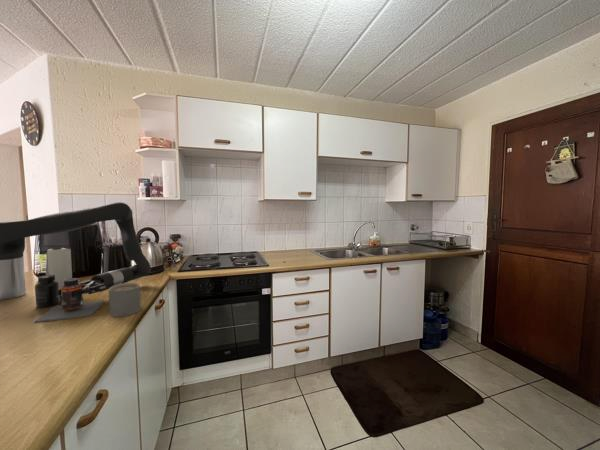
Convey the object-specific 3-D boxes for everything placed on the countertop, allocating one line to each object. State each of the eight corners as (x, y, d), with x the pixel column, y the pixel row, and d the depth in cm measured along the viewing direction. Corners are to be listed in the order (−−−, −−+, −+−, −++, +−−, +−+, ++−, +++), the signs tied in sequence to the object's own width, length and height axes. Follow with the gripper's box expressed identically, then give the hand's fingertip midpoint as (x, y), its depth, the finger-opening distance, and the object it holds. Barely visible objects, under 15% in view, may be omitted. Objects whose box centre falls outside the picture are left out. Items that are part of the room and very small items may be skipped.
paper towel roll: (47, 295, 110) (44, 249, 108) (64, 291, 115) (61, 247, 114) (56, 298, 107) (53, 250, 105) (72, 294, 113) (70, 248, 111)
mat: (34, 322, 86) (34, 321, 86) (55, 307, 99) (55, 305, 98) (91, 315, 92) (91, 314, 92) (104, 302, 105) (104, 300, 105)
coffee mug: (135, 315, 93) (134, 289, 92) (104, 318, 90) (103, 292, 89) (146, 302, 106) (146, 279, 105) (120, 304, 103) (119, 280, 102)
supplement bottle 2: (87, 305, 98) (85, 277, 97) (72, 311, 92) (70, 282, 91) (73, 304, 98) (72, 276, 97) (57, 310, 93) (55, 281, 92)
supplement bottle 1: (63, 303, 103) (62, 275, 102) (42, 309, 96) (40, 279, 95) (53, 300, 105) (52, 273, 104) (32, 306, 99) (30, 277, 98)
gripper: (94, 270, 110) (49, 282, 93) (121, 273, 107) (78, 286, 90) (95, 287, 110) (50, 301, 94) (121, 290, 107) (79, 305, 91)
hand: (64, 293), depth 92 cm, fingers closed on supplement bottle 2, 6 cm apart
